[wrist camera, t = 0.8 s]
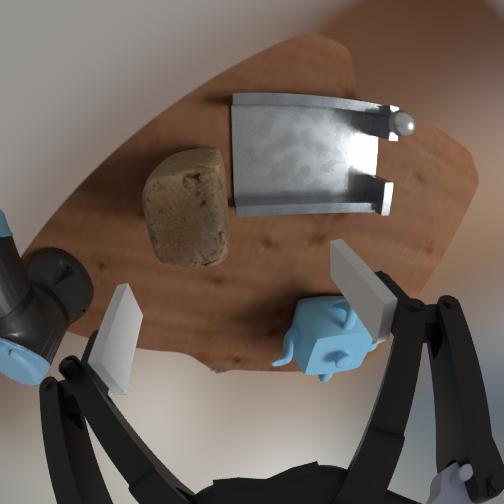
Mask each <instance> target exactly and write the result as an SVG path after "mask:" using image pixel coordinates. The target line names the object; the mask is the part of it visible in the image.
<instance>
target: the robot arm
mask: <svg viewBox="0 0 504 504" xmlns="http://www.w3.org/2000/svg"><path fill="white" fill-rule="evenodd" d="M12 235H13V234H12V233H11V232H10V229H9V227H8V224H7V221H6V219H5V215H4V213H3V212H2V211H1V210H0V372H2V373H3V374H4V375H6V376H7V377H9V378H11V379H13V380H15V381H17V382H19V383H22V384H25V385H37V384H39V383H41V384H40V388H39V389H40V390H39V393H40V411H41V423H42V431H43V440H44V446H45V453H46V458H47V464H48V468H49V474H50V478H51V482H52V486H53V490H54V494H55V497H56V501H57V504H113V502H112V500H111V498H110V495H109V492H108V490H107V488H106V485H105V482H104V480H103V477H102V475H101V472H100V469H99V466H98V463H97V460H96V457H95V454H94V451H93V447H92V444H91V440H90V437H89V433H88V429H87V425H86V421H85V418H86V420H87V421H88V423H89V425H90V427H91V429H92V430H93V432H94V434H95V435H96V437H97V439H98V440H99V442H100V444H101V445H102V447H103V448H104V450H105V452H106V453H107V455H108V456H109V458H110V459H111V461H112V462H113V463H114V465H115V466H116V468H117V469H118V471H119V472H120V473H121V475H122V476H123V477H124V479H125V480H126V481H127V483H128V484H129V488H128V489H129V491H130V493H131V494H132V495H133V497H134V498H135V499H136V500H137V502H138V503H139V504H421V503H419V502H416V501H413V500H411V499H409V498H406V497H404V496H401V495H399V494H396V493H394V492H392V491H390V490H387V488H388V485H389V483H390V480H391V478H392V475H393V473H394V470H395V468H396V465H397V462H398V459H399V456H400V453H401V450H402V447H403V444H404V440H405V437H404V431H405V427H406V424H407V421H408V417H409V413H410V409H411V405H412V401H413V396H414V392H415V387H416V382H417V377H418V372H419V366H420V360H421V353H422V346H423V343H427V346H428V353H429V359H430V366H431V373H432V381H433V391H434V402H435V418H436V465H437V473H438V474H437V475H436V476H435V477H434V479H433V480H432V482H431V486H430V497H429V499H428V501H427V503H426V504H481V503H483V502H485V501H488V500H490V499H492V498H494V497H496V496H498V495H499V494H500V493H501V492H502V491H503V489H504V464H503V461H502V459H501V456H500V454H499V451H498V449H497V447H496V444H495V442H494V440H493V437H492V432H491V424H490V416H489V409H488V404H487V398H486V393H485V387H484V383H483V378H482V374H481V370H480V366H479V362H478V358H477V354H476V351H475V347H474V344H473V341H472V337H471V335H470V332H469V328H468V325H467V322H466V319H465V317H464V314H463V311H462V308H461V306H460V303H459V301H458V300H457V299H456V298H455V297H452V296H449V295H444V296H441V297H440V298H439V300H438V302H437V304H430V305H425V304H424V303H423V302H422V301H420V300H418V299H413V298H409V296H408V295H407V294H406V293H405V292H404V291H403V290H402V289H401V288H400V287H399V286H398V285H397V284H396V283H395V282H394V281H393V280H392V279H391V278H390V277H389V275H387V274H385V273H383V272H382V271H378V272H375V273H374V272H373V271H372V270H371V269H370V268H369V267H368V266H367V265H366V264H365V263H364V262H363V261H362V260H361V259H360V258H359V257H358V255H357V254H356V253H355V252H354V251H353V250H352V249H351V248H350V247H349V246H348V245H347V244H346V243H345V242H344V241H343V240H342V239H337V240H332V241H330V259H331V278H332V280H333V281H334V282H335V284H336V285H337V287H338V288H339V290H340V291H341V292H342V294H343V295H344V297H345V298H346V300H347V301H348V303H349V304H350V306H351V307H352V308H353V310H354V311H355V313H356V314H357V316H358V317H359V319H360V320H361V322H362V323H363V325H364V326H365V328H366V329H367V331H368V332H369V334H370V335H371V337H372V339H373V340H374V342H375V343H376V344H378V343H381V342H383V341H386V340H388V339H389V335H390V331H391V333H392V334H393V336H394V339H393V343H392V346H391V351H390V355H389V359H388V363H387V366H386V370H385V373H384V377H383V380H382V383H381V386H380V390H379V393H378V396H377V399H376V402H375V405H374V407H373V410H372V413H371V416H370V419H369V421H368V424H367V426H366V429H365V431H364V434H363V436H362V439H361V441H360V443H359V446H358V448H357V450H356V452H355V455H354V457H353V459H352V461H351V463H350V465H349V467H348V469H344V468H341V467H337V466H331V465H318V462H317V461H316V462H312V463H308V464H304V465H301V466H297V467H293V468H290V469H288V470H286V471H284V472H282V473H279V474H277V475H275V476H272V477H271V478H268V479H253V478H239V477H237V478H229V479H219V480H213V485H211V486H209V487H206V488H205V489H203V490H201V491H200V492H198V493H197V494H195V493H194V492H192V491H191V490H190V489H189V488H187V487H186V486H185V485H184V484H182V483H181V482H180V481H179V480H178V479H177V478H176V477H175V476H174V475H173V474H172V473H171V472H170V471H169V470H168V469H167V468H166V467H165V465H164V464H163V463H162V462H161V461H160V460H159V459H158V458H157V457H156V456H155V455H154V454H153V452H152V451H151V450H150V449H149V448H148V447H147V445H146V444H145V443H144V442H143V441H142V439H141V438H140V437H139V436H138V434H137V433H136V432H135V431H134V430H133V428H132V427H131V426H130V424H129V423H128V422H127V420H126V419H125V418H124V416H123V415H122V414H121V412H120V411H119V409H118V408H117V407H116V405H115V404H114V403H113V401H112V399H111V398H110V397H109V396H108V391H109V390H110V391H111V392H112V393H113V394H114V395H126V393H127V387H128V381H129V377H130V372H131V366H132V361H133V357H134V352H135V347H136V343H137V338H138V334H139V330H140V326H141V322H142V318H143V315H142V313H141V311H140V308H139V306H138V304H137V302H136V300H135V298H134V296H133V293H132V291H131V289H130V287H129V284H128V283H125V284H120V285H118V286H117V288H116V290H115V293H114V295H113V297H112V299H111V302H110V304H109V307H108V309H107V311H106V314H105V316H104V319H103V321H102V324H101V327H100V329H99V330H95V331H94V332H93V333H92V335H91V336H90V338H89V340H88V344H87V345H86V348H85V349H86V350H85V351H84V354H83V356H82V359H81V362H80V360H79V359H78V358H77V357H76V356H74V355H71V356H68V357H66V358H64V359H63V360H62V361H61V363H60V364H59V372H60V373H61V374H62V375H63V377H64V378H65V380H62V381H59V382H58V381H57V380H56V379H55V378H54V377H51V376H50V377H47V378H45V379H44V380H43V378H44V376H45V374H46V372H47V371H48V370H49V369H50V366H51V363H52V361H53V359H54V356H55V354H56V352H57V350H58V347H59V345H60V343H61V341H62V339H63V337H64V335H65V333H66V330H67V329H68V327H69V326H70V325H71V324H72V323H74V322H75V321H76V320H77V319H79V318H80V317H81V316H83V315H84V314H85V313H86V311H87V310H88V308H89V306H90V304H91V302H92V299H93V286H92V282H91V279H90V277H89V275H88V273H87V271H86V270H85V268H84V267H83V266H82V264H81V263H80V262H79V261H78V260H77V259H76V258H75V257H73V256H72V255H71V254H69V253H67V252H66V251H63V250H61V249H57V248H46V249H43V250H41V251H40V252H39V253H38V254H37V255H36V256H35V257H34V258H33V259H32V260H31V262H30V264H29V266H28V270H27V273H26V271H25V269H24V267H23V264H22V262H21V259H20V256H19V254H18V251H17V249H16V246H15V243H14V240H13V237H12ZM42 380H43V381H42ZM41 381H42V382H41ZM84 416H85V417H84Z"/></svg>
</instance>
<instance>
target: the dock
mask: <svg viewBox="0 0 504 504" xmlns="http://www.w3.org/2000/svg"><path fill="white" fill-rule="evenodd" d="M231 114H232V149H233V179H234V205H235V212H236V217H248V216H266V215H287V214H311V213H343V212H377V213H378V214H380V215H389V211H390V204H391V197H392V190H393V183H391V182H389V181H387V180H385V179H383V178H381V177H379V176H376V175H375V170H376V159H377V144H378V138H383V139H388V140H394V141H397V136H398V137H402V138H406V137H409V136H411V135H412V134H413V133H414V131H415V127H416V124H415V120H414V118H413V117H412V115H411V114H410V113H408V112H406V111H403V110H399V108H398V107H394V106H384V105H379V104H374V103H368V102H362V101H356V100H350V99H342V98H334V97H325V96H315V95H303V94H286V93H233V94H232V95H231Z"/></svg>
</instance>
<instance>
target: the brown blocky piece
mask: <svg viewBox="0 0 504 504" xmlns="http://www.w3.org/2000/svg"><path fill="white" fill-rule="evenodd" d="M142 201H143V210H144V215H145V218H146V221H147V227H148V232H149V236H150V240H151V243H152V246H153V249H154V252H155V254H156V256H157V258H158V259H159V260H160V261H161V262H162V263H165V264H169V265H178V266H182V267H199V266H200V265H205V266H207V267H210V266H214V265H217V264H219V263H221V262H222V261H223V260H224V259H225V258H226V257H227V255H228V252H229V248H230V231H229V213H228V200H227V188H226V176H225V168H224V162H223V159H222V155H221V153H220V152H219V150H218V149H217V148H214V147H201V148H195V149H190V150H185V151H181V152H178V153H175V154H173V155H171V156H169V157H167V158H166V159H165V160H164V161H162V162H161V163H160V164H159V165H158V166H157V167H156V168H155V169H154V170H153V171H152V173H151V174H150V175H149V177H148V179H147V181H146V184H145V187H144V190H143V195H142Z"/></svg>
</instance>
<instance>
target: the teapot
mask: <svg viewBox="0 0 504 504" xmlns="http://www.w3.org/2000/svg"><path fill="white" fill-rule="evenodd" d="M371 343H372V344H371ZM376 346H377V344H376V343H375V342H374V340H373V339H372V337H371V335H370V334H369V332H368V331H367V329H366V328H365V326H364V325H363V323H362V322H361V320H360V319H359V317H358V316H357V314H356V313H355V311H354V310H353V308H352V307H351V306H350V304H349V303H348V301H347V300H346V298H345V297H344V296H322V297H312V298H304V299H301V300H299V301H298V303H297V306H296V310H295V313H294V317H293V321H292V326H291V328H290V329H289V330H288V331H287V333H286V334H285V337H284V341H283V355H282V357H281V358H280V359H278V360H277V361H275V362H274V363H272V365H273V366H281V365H285V364H287V363H288V362H290V360H291V359H292V356H294V358H295V360H296V362H297V364H298V365H299V367H300V369H301V370H302V372H303V373H304V374H306V375H319V379H320V381H322V382H326V381H328V380H329V379H330V378H331V376H332V374H333V373H335V372H341V371H346V370H350V369H354V368H357V367H359V366H360V364H361V362H362V361H363V359H364V357H365V355H366V353H367V352H369V351H372V350H374V349H375V348H376Z"/></svg>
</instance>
